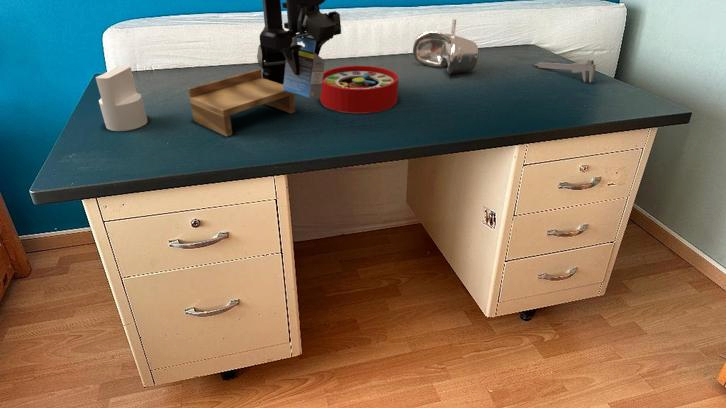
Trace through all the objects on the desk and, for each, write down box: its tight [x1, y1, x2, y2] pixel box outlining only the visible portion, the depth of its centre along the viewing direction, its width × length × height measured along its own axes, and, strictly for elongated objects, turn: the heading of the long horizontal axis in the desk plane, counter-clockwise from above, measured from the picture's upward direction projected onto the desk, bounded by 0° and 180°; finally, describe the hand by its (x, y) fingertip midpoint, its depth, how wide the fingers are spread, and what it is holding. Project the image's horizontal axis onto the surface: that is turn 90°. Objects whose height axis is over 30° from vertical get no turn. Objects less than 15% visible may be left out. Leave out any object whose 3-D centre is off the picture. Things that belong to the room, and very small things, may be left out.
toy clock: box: [319, 65, 399, 114], centre depth 129 cm, size 20×6×20 cm
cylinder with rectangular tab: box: [95, 65, 149, 132], centre depth 113 cm, size 9×9×12 cm
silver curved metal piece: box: [412, 18, 479, 76], centre depth 150 cm, size 18×11×14 cm, turn 33°
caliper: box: [534, 59, 596, 83], centre depth 147 cm, size 20×1×6 cm, turn 32°
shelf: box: [187, 68, 296, 137], centre depth 118 cm, size 20×13×8 cm, turn 138°
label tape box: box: [283, 37, 326, 100], centre depth 111 cm, size 9×4×12 cm, turn 49°
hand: (304, 72), depth 111 cm, fingers closed on label tape box, 4 cm apart
